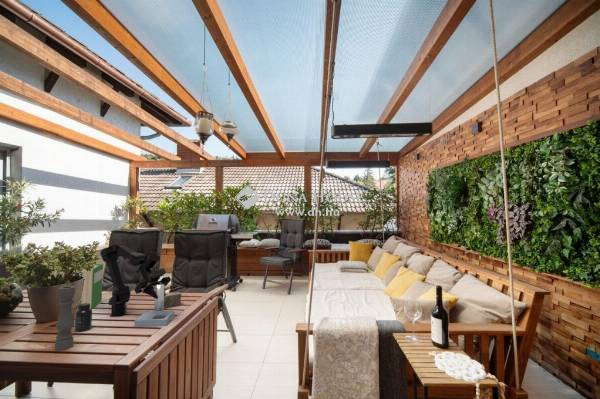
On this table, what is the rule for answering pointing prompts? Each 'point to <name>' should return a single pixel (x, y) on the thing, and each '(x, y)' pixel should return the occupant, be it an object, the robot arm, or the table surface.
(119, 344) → the table surface
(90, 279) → the hardback book
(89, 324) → the supplement bottle
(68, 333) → the candle holder
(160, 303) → the polished metal rod
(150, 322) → the jig plate
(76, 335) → the table surface
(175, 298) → the stone block
